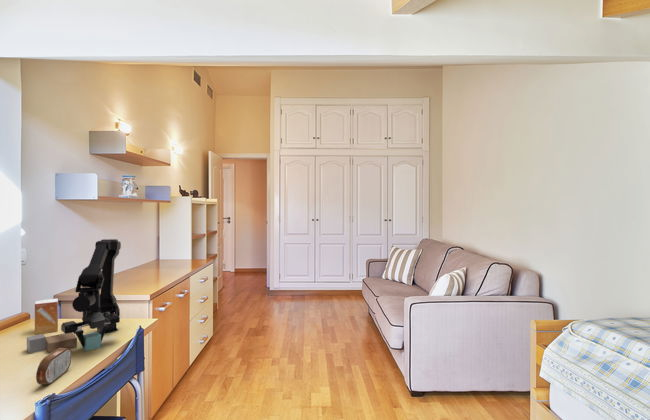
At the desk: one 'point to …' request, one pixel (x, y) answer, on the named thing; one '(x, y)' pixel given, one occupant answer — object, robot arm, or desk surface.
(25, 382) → the desk surface
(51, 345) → the walnut block
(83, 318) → the robot arm
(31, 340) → the grey cube
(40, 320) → the small box
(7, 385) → the desk surface
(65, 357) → the tin
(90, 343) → the teal cube
